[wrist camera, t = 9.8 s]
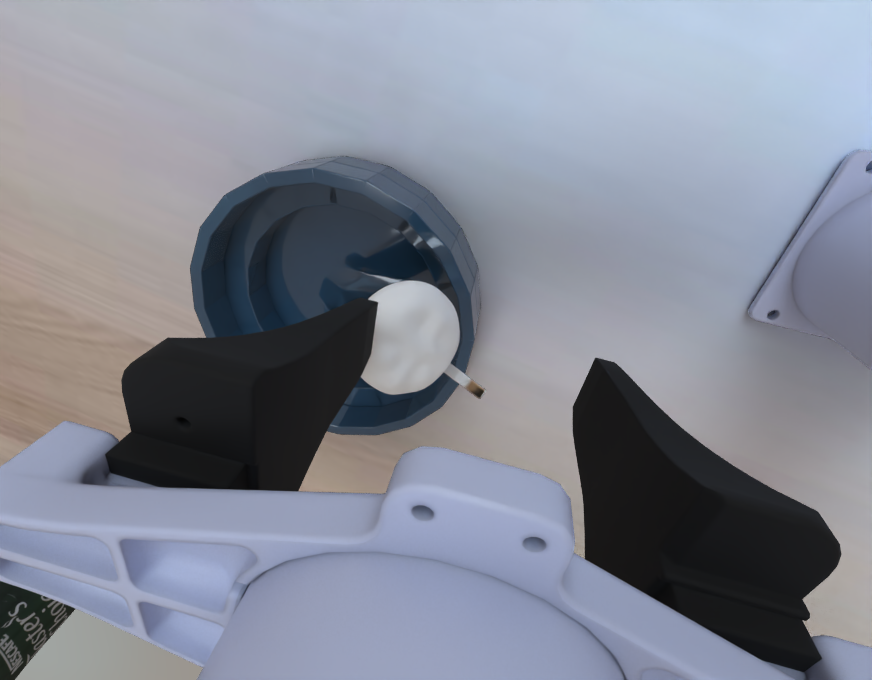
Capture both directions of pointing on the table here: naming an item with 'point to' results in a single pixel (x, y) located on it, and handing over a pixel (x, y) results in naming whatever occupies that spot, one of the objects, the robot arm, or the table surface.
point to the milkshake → (401, 329)
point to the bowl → (332, 264)
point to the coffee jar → (25, 626)
